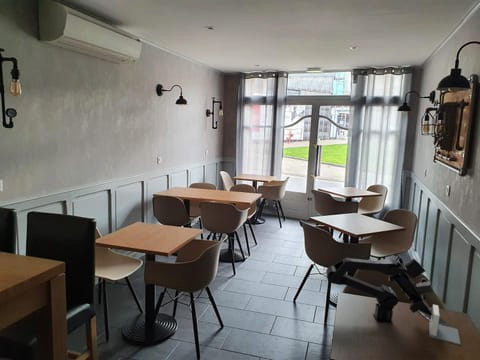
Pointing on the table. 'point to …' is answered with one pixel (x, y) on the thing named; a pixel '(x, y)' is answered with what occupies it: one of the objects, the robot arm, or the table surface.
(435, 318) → the tile
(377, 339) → the table surface
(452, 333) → the mat
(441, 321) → the smartphone
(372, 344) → the table surface
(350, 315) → the table surface
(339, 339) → the table surface
